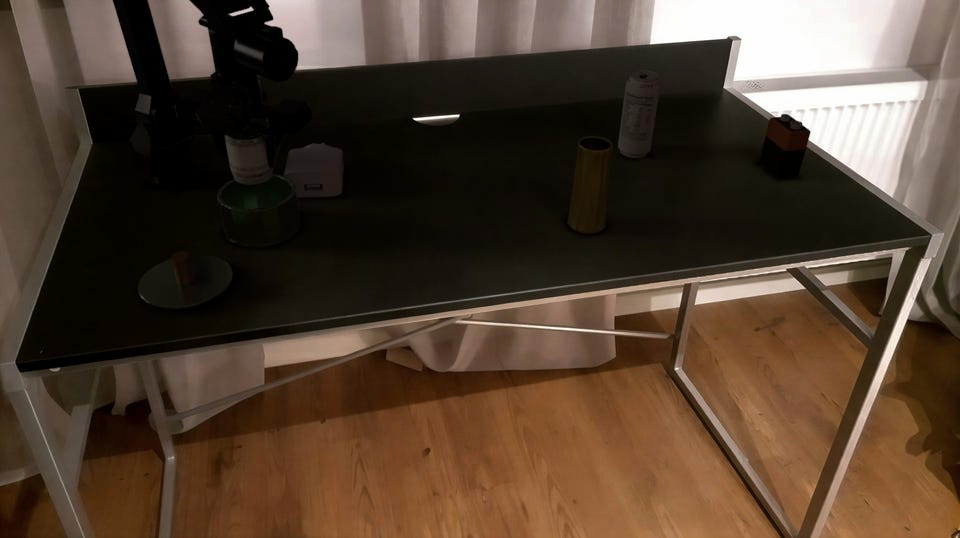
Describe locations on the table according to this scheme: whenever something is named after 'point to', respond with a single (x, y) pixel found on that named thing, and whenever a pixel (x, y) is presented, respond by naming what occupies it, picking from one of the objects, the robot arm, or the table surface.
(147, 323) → the table surface
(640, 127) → the energy drink can
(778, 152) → the battery
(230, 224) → the tin
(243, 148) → the camera lens
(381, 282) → the table surface
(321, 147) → the charger
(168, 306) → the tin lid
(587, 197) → the vase
